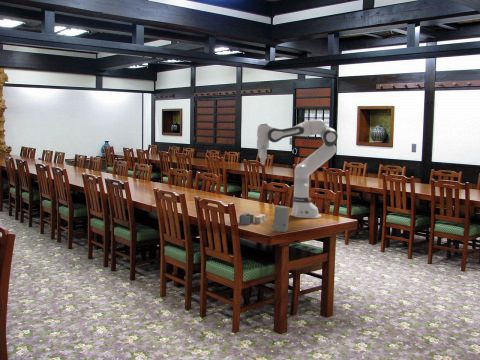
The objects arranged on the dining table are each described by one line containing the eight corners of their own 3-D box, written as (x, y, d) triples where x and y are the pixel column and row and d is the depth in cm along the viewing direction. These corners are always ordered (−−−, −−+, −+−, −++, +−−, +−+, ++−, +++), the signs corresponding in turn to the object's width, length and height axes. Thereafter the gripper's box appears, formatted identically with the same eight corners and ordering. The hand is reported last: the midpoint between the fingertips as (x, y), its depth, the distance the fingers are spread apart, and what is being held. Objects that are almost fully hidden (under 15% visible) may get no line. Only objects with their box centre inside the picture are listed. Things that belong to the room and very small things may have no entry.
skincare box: (272, 231, 322) (273, 206, 320) (276, 229, 328) (277, 205, 327) (285, 232, 319) (286, 207, 317) (289, 230, 325) (289, 206, 323)
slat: (260, 220, 360) (260, 213, 359) (266, 220, 358) (266, 214, 358) (254, 223, 347) (254, 217, 346) (259, 224, 345) (260, 217, 345)
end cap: (253, 222, 349) (253, 213, 349) (249, 224, 341) (249, 215, 340) (243, 221, 352) (244, 212, 351) (239, 223, 343) (239, 214, 343)
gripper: (268, 146, 363) (268, 165, 365) (265, 145, 383) (264, 163, 385) (260, 146, 363) (259, 165, 364) (257, 145, 383) (256, 163, 384)
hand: (262, 164), depth 375 cm, fingers open, 8 cm apart
